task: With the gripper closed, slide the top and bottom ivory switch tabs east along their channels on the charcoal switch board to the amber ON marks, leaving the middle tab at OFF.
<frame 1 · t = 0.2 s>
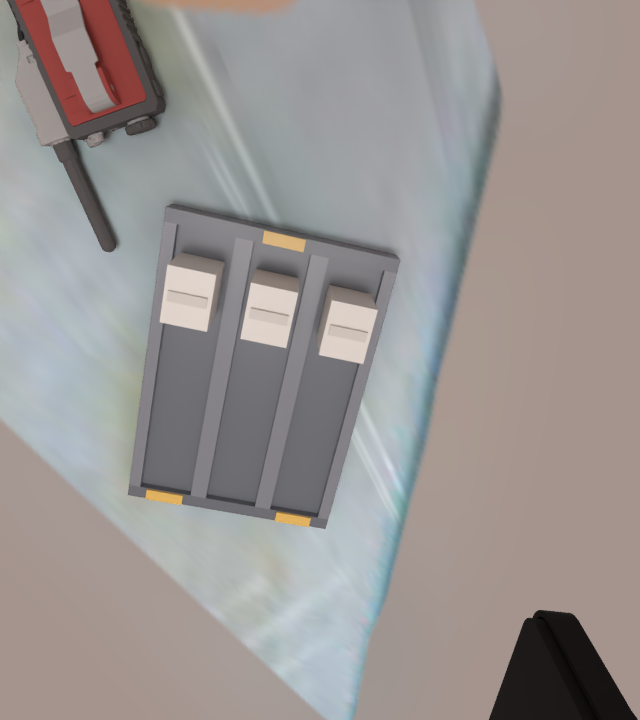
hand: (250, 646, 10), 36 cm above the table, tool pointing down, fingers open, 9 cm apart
tab c: (193, 291, 40), point 4 cm above the table, slide at 0.0 cm
switch board: (256, 375, 46), on the table
tab b: (270, 307, 40), point 4 cm above the table, slide at 0.0 cm
walkie-talkie: (99, 95, 39), on the table
tab a: (345, 323, 41), point 4 cm above the table, slide at 0.0 cm
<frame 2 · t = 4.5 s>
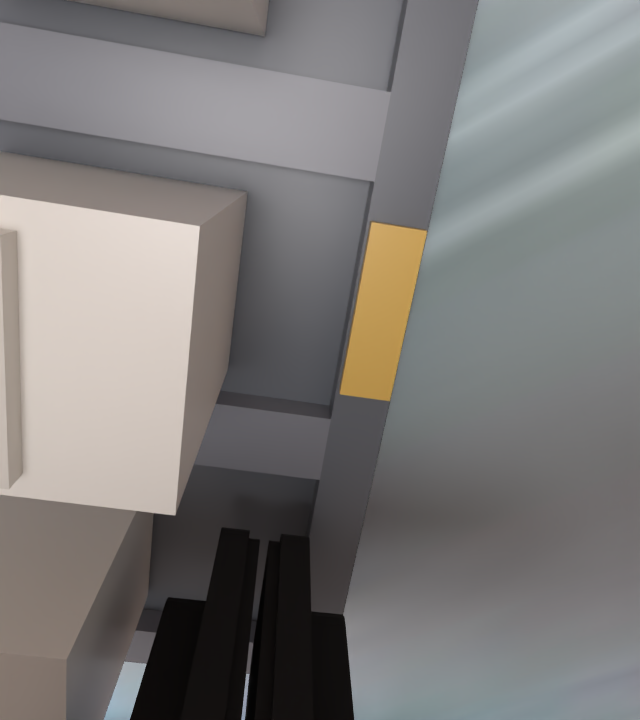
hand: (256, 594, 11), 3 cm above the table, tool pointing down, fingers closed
tab b: (67, 302, 8), point 4 cm above the table, slide at 0.0 cm
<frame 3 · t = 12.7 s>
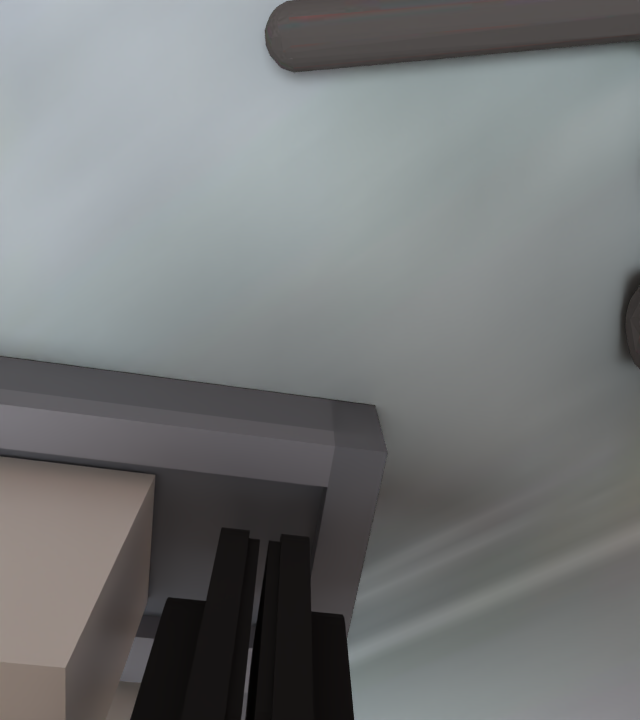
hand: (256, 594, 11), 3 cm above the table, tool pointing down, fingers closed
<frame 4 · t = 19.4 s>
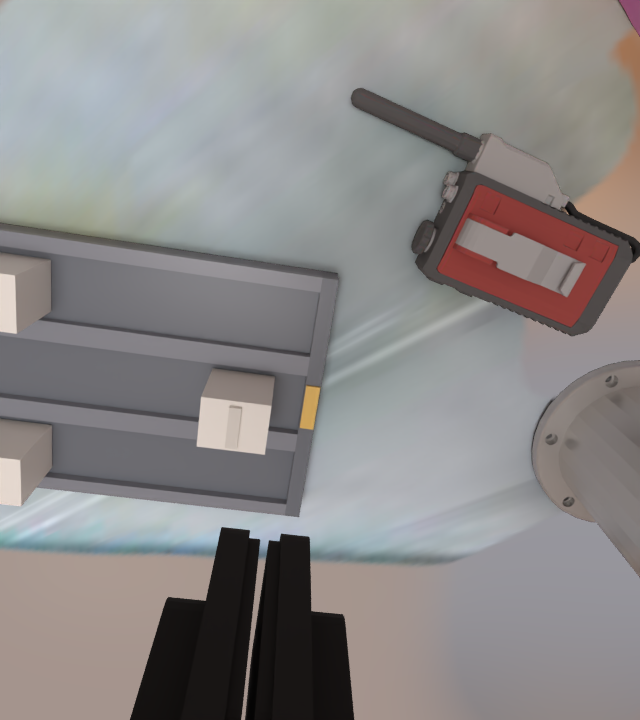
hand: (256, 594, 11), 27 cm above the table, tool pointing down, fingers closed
switch board: (138, 371, 38), on the table
tab b: (237, 410, 35), point 4 cm above the table, slide at 0.0 cm
walkie-talkie: (474, 217, 36), on the table
tab a: (3, 461, 36), point 4 cm above the table, slide at 14.0 cm
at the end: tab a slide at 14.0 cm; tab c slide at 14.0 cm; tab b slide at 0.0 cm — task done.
